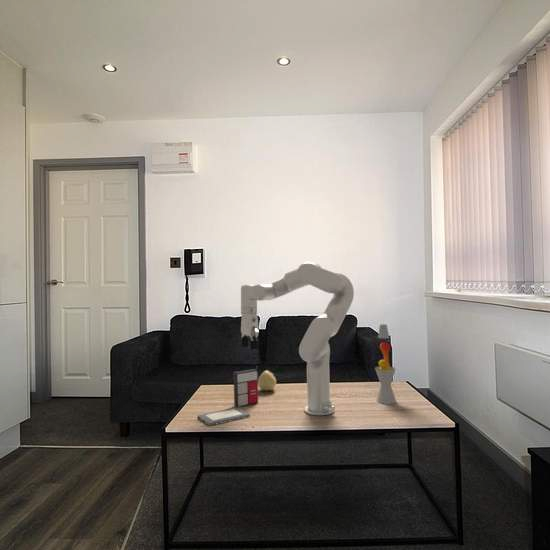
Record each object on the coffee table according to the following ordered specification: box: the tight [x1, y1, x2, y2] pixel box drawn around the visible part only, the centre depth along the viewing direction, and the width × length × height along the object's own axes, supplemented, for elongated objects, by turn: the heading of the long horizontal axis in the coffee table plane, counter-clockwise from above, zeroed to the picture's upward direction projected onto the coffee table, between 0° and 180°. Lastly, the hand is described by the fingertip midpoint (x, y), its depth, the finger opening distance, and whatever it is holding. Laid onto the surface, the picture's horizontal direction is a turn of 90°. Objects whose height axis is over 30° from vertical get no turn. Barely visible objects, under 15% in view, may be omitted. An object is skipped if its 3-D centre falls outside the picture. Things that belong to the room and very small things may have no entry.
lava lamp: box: [374, 323, 397, 405], centre depth 169 cm, size 9×9×35 cm
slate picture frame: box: [197, 406, 251, 426], centre depth 152 cm, size 12×18×1 cm, turn 123°
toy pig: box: [258, 369, 277, 391], centre depth 192 cm, size 10×12×11 cm
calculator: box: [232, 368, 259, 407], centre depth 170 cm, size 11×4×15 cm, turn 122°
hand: (249, 347), depth 172 cm, fingers open, 9 cm apart
